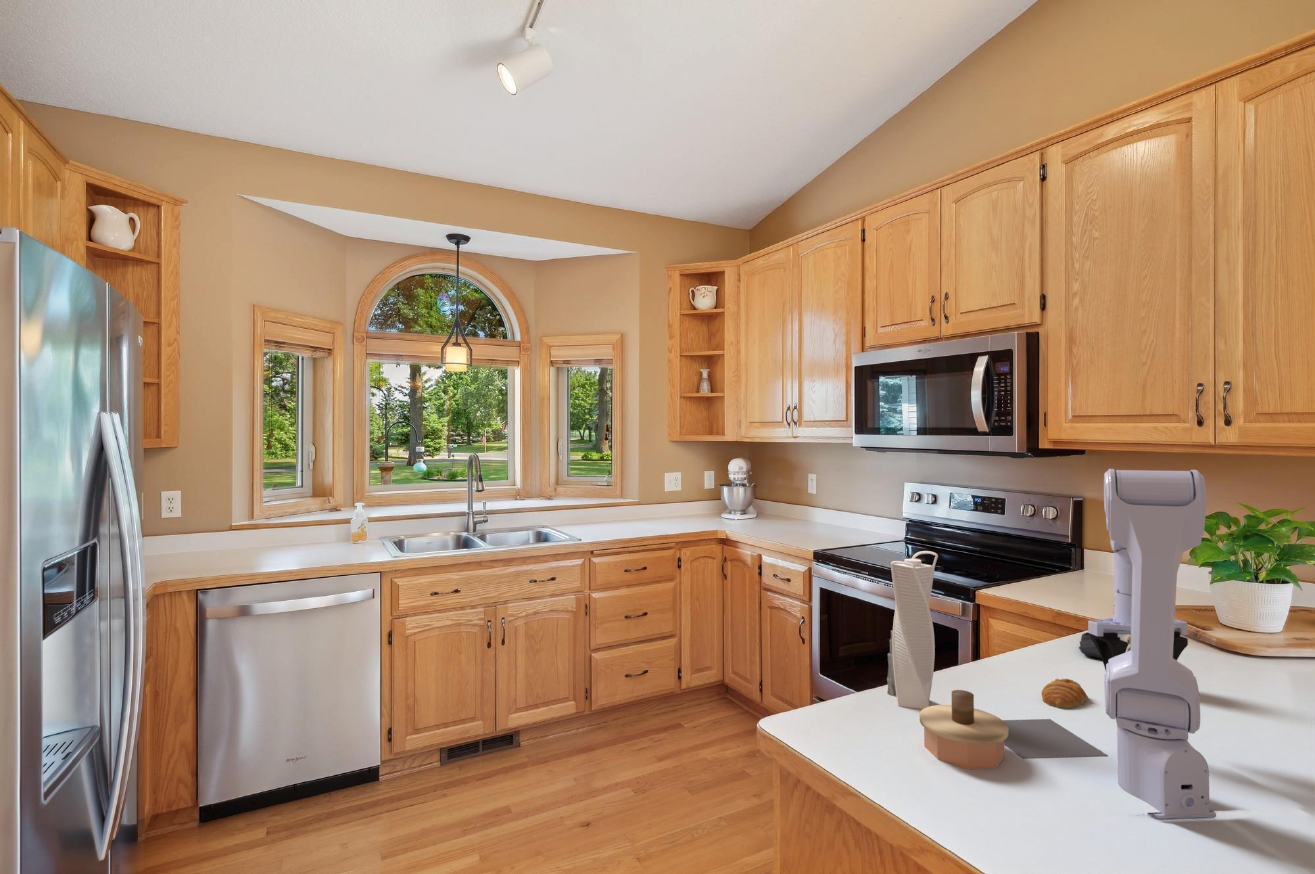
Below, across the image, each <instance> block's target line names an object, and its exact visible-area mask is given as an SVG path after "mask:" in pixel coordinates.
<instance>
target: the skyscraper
mask: <svg viewBox="0 0 1315 874" xmlns="http://www.w3.org/2000/svg"><path fill="white" fill-rule="evenodd" d="M920 555H932V556H935V557H934V560H933V563H932V565H931V564H927V563H922V560H921V559H919V558H918V559H917V558H916V557H918V556H920ZM938 558H939V555H938V553H936V552H934V551H930V550H923V551H922V550H921V551H918V552H915V553H914V555H913V556H912V557H911V558H905V559H904V561H903V560H893V561H891V563H890V569H891V578H892V584H893V585H892V586H893V593H894V600H895V607H894V608H895V610H894V613H893V614H894V616H893V622H892V623H893V625H892V630H890V639H889V652H888V653H887V662H888V668H887V677H886V681H887V694H888V695H889V696H896V702H897V707H903V708H904V707H905V708H912V709H919V710H922V709H924V708H926V707H929V706H930V703H929V701H930V698H931V693H932V686H933V678H934V669H935V658H936V657H935V655H936V653H935V652H936V651H935V648H936V645H935V643H936V642H935V631H934V624H933V619H932V614H931V610H930V601H931V597H932V596H931V595H932V589H933V582H934V575H935V568H936V563H937V560H938Z"/></svg>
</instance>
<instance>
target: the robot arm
mask: <svg viewBox="0 0 1315 874" xmlns="http://www.w3.org/2000/svg"><path fill="white" fill-rule="evenodd" d="M1103 503H1104V504H1103V505H1104V506H1103V507H1104V513H1105V518H1106V519H1105V521H1106V522H1105V523H1106V530H1107V532H1109V539H1110V542H1109V543H1110V547H1111V550H1112V551H1113V556H1114V557H1113V562H1114V563H1113V565H1114V566H1113V567H1114V568H1113V569H1114V571H1113V573H1114V580H1113V581H1114V605H1115V615H1112V617H1108V618H1103V619H1096V620H1088V621H1087V622H1088V624H1087V625H1088V626H1087V627H1088V630H1087V631H1088V633H1090V638H1091V639H1092V641H1093V643H1094V644H1095V646H1096V648H1097V650H1098V652H1099V654H1100V656H1101V658H1102V659H1101V661H1102V664H1103V667H1104V671H1105V673H1104V707H1105V709H1104V710H1105V714H1106V715H1107V716H1108V717H1109V719H1112V720H1115V721H1116V722H1115V723H1116V735H1117V737H1116V740H1117V741H1116V742H1117V744H1116V745H1117V752H1116V754H1117V785H1118V786H1119V788H1120V789H1121V790H1123V791H1124V792H1126V793H1127V794H1129V795H1131V796H1133V797H1135V798H1137V799H1139V800H1141V801H1143V802H1144V803H1146V804H1148V805H1149V806H1150V807H1152V808H1153V809H1155V810H1157V812H1155V811H1154V812H1148V815H1151V816H1152V817H1153V818H1155V819H1159V820H1163V819H1165V820H1166V819H1189V818H1190V819H1191V818H1193V819H1194V818H1215V817H1216V816H1217V813H1216V811H1214V810H1211V809H1210V807H1211V806H1210V769H1209V765H1208V762H1207V760H1206V758H1205V757H1204V756H1203V754H1202V753H1201V752H1199V751H1198V750H1197V749H1195V747H1193V746H1192V745H1191V744H1190V742H1189V741H1188V740H1189V734H1193V735H1194V734H1195V733H1196V732H1198V731H1199V730H1200V727H1201V705H1200V704H1201V703H1200V691H1199V685H1198V681H1197V677H1196V676H1195V675H1194V672H1193V671H1192V670H1191V669H1190V668H1188V667H1187V666H1185V665H1184V664H1182V663H1181V662H1179V661H1178V659H1179V657H1180V656H1181V654H1182V652H1183V651H1184V650H1185V649H1186V648H1187V647H1188V646H1189V639H1188V637H1184V636H1187V635H1188V633H1189V632H1188V622H1187V621H1184V620H1181V619H1177V618H1175V617H1176V603H1177V602H1176V600H1177V582H1178V581H1177V580H1178V579H1177V578H1178V572H1179V569H1180V565H1181V562H1182V559H1183V555H1184V553H1185V552H1187V551H1189V550H1191V549H1194V548H1195V547H1199V546H1200V545H1202V539H1203V538H1202V537H1203V536H1204V534H1205V524H1206V510H1207V489H1206V481H1205V477H1204V475H1203V474H1202V473H1200V472H1199V470H1198V469H1190V470H1147V469H1146V470H1145V469H1143V470H1139V469H1138V470H1136V469H1135V470H1134V469H1132V470H1131V469H1116V470H1115V469H1114V468H1108V470H1106V471H1105V472H1104V474H1103ZM1129 634H1131V649H1130V651H1128V652H1126V649H1127V647H1128V643H1127V642H1125V641H1122V640H1120V637H1118V635H1129ZM1125 652H1126V653H1125ZM1158 811H1159V812H1158Z"/></svg>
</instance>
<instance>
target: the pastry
mask: <svg viewBox="0 0 1315 874" xmlns="http://www.w3.org/2000/svg"><path fill="white" fill-rule="evenodd" d="M1040 692H1041V697H1042V702H1043V703H1044V704H1046V705H1048V706H1050V707H1052V708H1057V709H1066V710H1067V709H1068V710H1070V709H1073V708H1077V707H1079V706H1082V705H1084V704H1085V702H1087V701H1088V700H1089V696H1088V695H1087V693H1086V692H1085V690H1084V688H1083V687H1082V686H1081V685H1080V684H1079V683H1078V682H1077V681H1075V680H1072V679H1070V678H1061V679H1059V678H1056V679H1054V680H1052V681H1051V682H1048V683H1047V684H1046V685H1045V686H1044V687H1043V688H1042V690H1041V691H1040Z"/></svg>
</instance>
